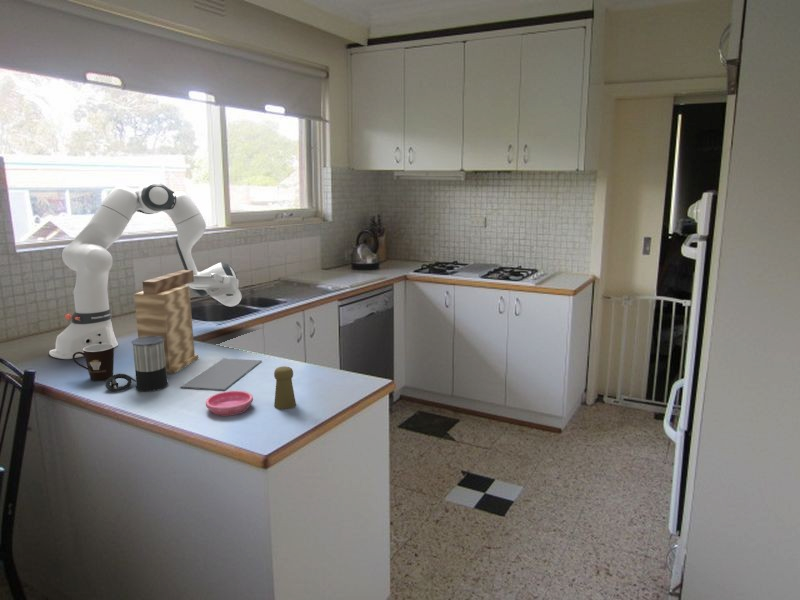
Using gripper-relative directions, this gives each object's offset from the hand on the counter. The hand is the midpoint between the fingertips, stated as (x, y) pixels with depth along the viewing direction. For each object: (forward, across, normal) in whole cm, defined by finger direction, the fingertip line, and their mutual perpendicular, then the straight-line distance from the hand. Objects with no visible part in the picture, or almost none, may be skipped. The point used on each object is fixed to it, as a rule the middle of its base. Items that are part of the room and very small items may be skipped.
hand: (201, 275), depth 212 cm
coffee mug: (+22, -16, +43) cm, 51 cm away
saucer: (+37, +37, +52) cm, 74 cm away
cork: (+33, +51, +50) cm, 78 cm away
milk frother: (+28, +2, +46) cm, 54 cm away
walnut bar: (+18, 0, +11) cm, 21 cm away
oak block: (+9, 0, +36) cm, 37 cm away
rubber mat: (+14, +22, +39) cm, 47 cm away
